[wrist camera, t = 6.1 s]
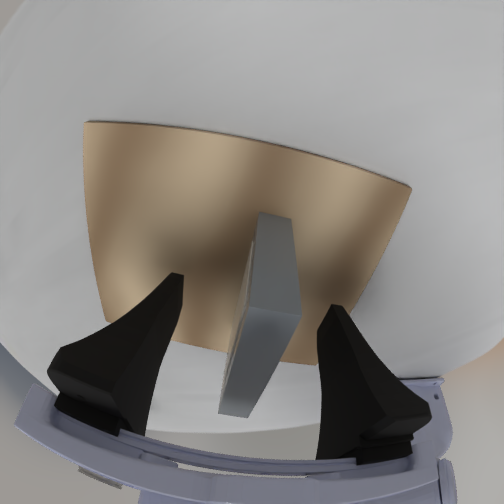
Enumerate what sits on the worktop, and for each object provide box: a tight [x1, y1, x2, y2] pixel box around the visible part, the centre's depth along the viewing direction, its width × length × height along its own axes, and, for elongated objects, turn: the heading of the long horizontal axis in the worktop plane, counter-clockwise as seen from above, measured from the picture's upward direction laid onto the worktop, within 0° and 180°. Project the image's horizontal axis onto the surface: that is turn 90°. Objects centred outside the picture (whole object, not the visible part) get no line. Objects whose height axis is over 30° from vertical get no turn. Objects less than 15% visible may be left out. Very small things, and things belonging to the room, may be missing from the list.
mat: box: [83, 121, 412, 365], centre depth 14 cm, size 16×14×1 cm
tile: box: [218, 212, 302, 418], centre depth 12 cm, size 2×8×6 cm, turn 168°
